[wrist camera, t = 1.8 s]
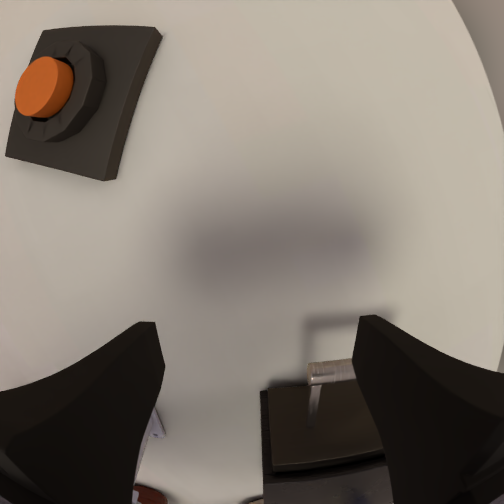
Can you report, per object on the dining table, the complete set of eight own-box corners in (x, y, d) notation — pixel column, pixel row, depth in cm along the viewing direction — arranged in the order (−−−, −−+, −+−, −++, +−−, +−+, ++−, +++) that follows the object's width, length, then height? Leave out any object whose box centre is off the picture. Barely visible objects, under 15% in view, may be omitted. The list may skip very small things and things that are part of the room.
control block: (18, 155, 16) (-12, 158, 12) (54, 35, 13) (29, 23, 9) (116, 179, 17) (89, 184, 13) (163, 36, 14) (145, 14, 10)
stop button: (26, 115, 12) (8, 114, 10) (42, 63, 11) (26, 57, 9) (63, 120, 12) (45, 118, 11) (82, 62, 11) (66, 55, 10)
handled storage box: (260, 390, 22) (263, 484, 13) (399, 373, 22) (440, 447, 13) (262, 469, 26) (264, 533, 18) (365, 455, 26) (382, 513, 18)
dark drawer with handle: (266, 328, 19) (273, 410, 12) (416, 314, 19) (467, 372, 12) (267, 466, 25) (270, 520, 18) (367, 453, 25) (382, 502, 18)
